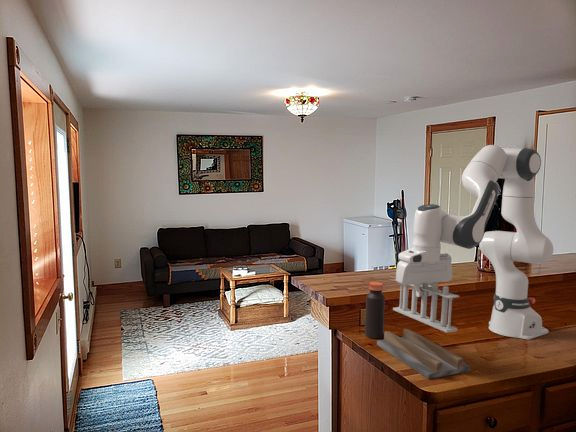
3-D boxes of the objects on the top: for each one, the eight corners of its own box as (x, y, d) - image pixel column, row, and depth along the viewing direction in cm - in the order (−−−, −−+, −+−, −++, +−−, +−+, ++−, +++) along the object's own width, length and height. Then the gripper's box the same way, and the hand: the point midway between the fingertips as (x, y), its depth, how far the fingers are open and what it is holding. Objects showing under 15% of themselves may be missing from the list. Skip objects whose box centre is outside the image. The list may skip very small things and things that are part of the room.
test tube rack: (392, 309, 161) (394, 272, 160) (402, 308, 163) (404, 272, 162) (446, 332, 139) (449, 290, 138) (457, 331, 141) (460, 288, 140)
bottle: (371, 340, 168) (373, 286, 165) (361, 333, 174) (363, 281, 172) (387, 337, 170) (389, 284, 168) (376, 331, 176) (378, 280, 174)
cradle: (413, 339, 169) (414, 327, 169) (469, 371, 143) (470, 357, 143) (376, 344, 163) (377, 332, 163) (428, 378, 137) (428, 364, 137)
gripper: (444, 251, 156) (442, 290, 158) (394, 254, 149) (392, 295, 150) (458, 254, 150) (455, 295, 152) (406, 258, 143) (403, 301, 144)
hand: (423, 295), depth 151 cm, fingers closed on test tube rack, 2 cm apart
